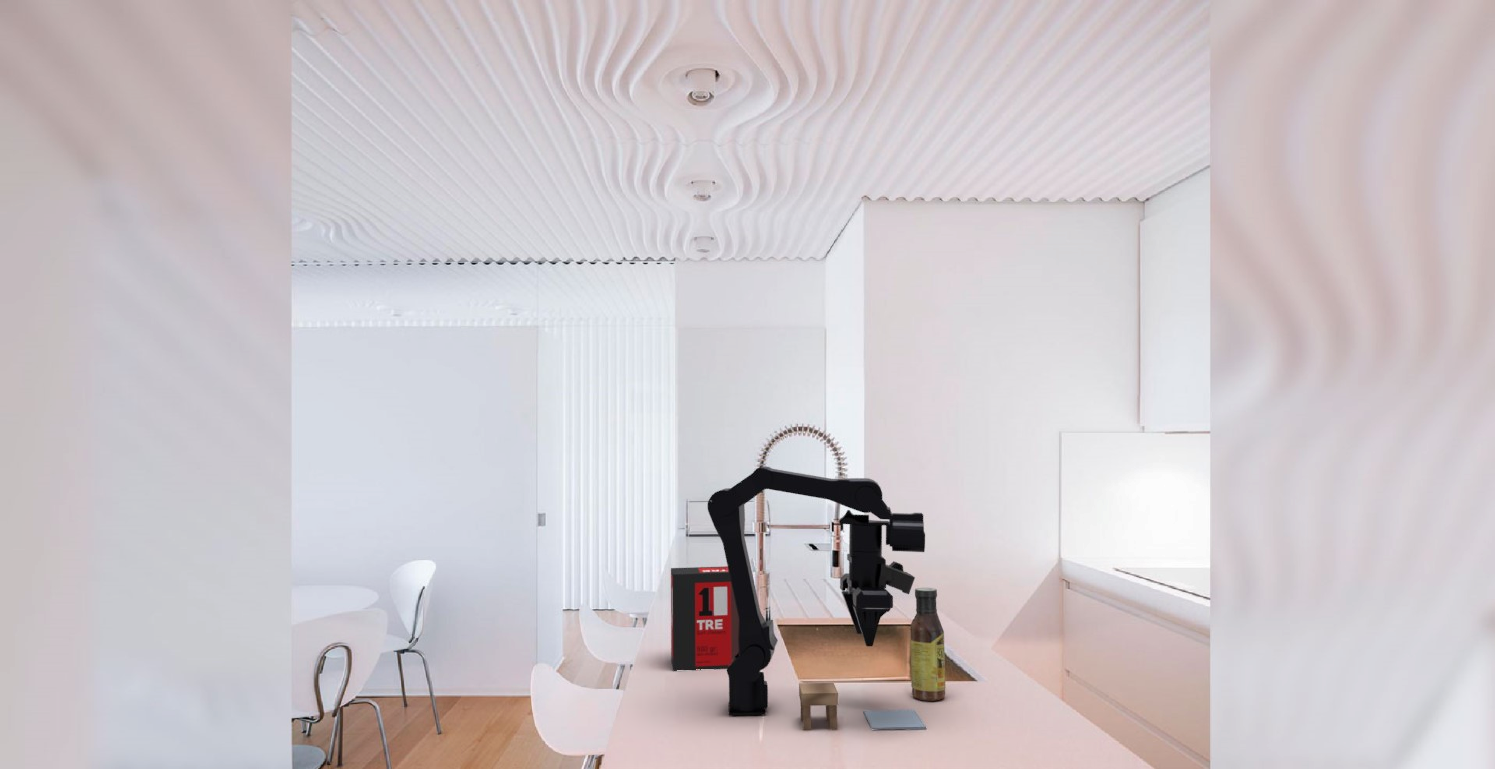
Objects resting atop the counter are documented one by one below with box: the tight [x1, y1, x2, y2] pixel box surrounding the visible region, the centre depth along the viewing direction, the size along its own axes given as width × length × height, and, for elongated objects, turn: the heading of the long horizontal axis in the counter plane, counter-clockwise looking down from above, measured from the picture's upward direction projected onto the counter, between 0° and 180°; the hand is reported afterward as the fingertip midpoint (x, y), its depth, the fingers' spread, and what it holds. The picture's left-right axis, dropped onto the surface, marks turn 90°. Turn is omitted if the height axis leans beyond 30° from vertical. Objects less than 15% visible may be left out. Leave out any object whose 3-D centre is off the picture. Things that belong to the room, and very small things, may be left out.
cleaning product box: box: [670, 565, 739, 672], centre depth 186 cm, size 16×9×20 cm, turn 98°
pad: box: [863, 709, 927, 730], centre depth 148 cm, size 9×9×1 cm
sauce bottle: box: [909, 587, 946, 702], centre depth 161 cm, size 6×6×20 cm
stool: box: [798, 682, 839, 731], centre depth 146 cm, size 6×6×6 cm
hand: (864, 639), depth 152 cm, fingers open, 9 cm apart
